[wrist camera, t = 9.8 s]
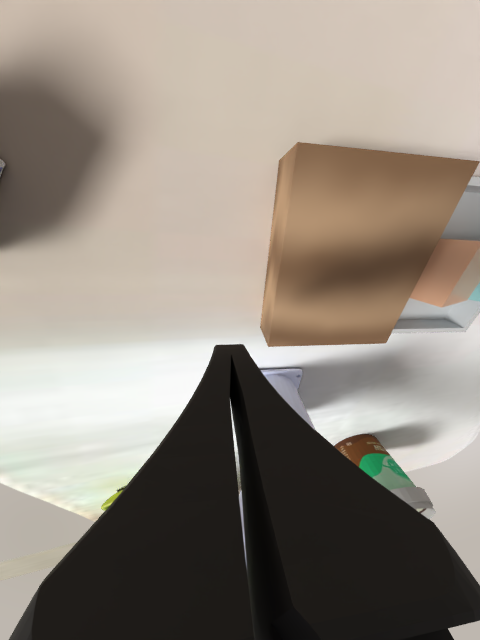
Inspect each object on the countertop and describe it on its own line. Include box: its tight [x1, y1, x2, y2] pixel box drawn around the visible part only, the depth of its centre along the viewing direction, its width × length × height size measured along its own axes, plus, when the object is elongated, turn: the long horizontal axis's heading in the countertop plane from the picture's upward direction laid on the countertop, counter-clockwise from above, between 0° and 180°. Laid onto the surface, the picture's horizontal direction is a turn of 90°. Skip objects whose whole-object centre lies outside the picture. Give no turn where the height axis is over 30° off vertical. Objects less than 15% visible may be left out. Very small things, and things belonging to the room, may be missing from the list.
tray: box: [392, 176, 480, 333], centre depth 17 cm, size 13×10×2 cm
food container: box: [334, 434, 435, 519], centre depth 30 cm, size 12×6×10 cm, turn 67°
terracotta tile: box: [410, 238, 480, 308], centre depth 16 cm, size 5×5×2 cm
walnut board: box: [260, 142, 480, 347], centre depth 16 cm, size 14×12×4 cm
